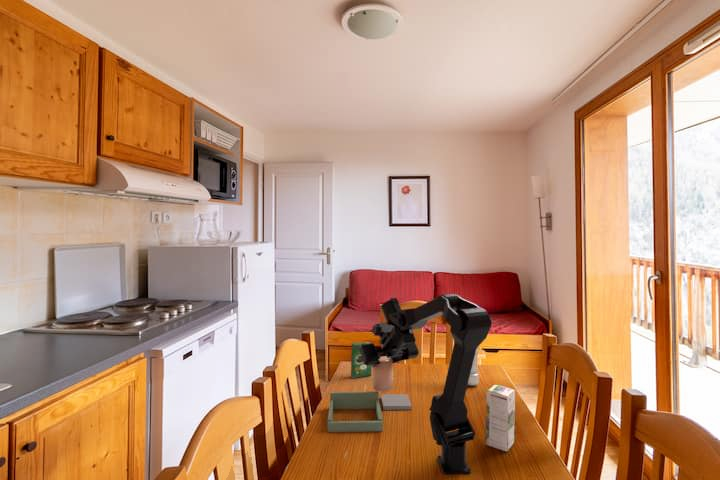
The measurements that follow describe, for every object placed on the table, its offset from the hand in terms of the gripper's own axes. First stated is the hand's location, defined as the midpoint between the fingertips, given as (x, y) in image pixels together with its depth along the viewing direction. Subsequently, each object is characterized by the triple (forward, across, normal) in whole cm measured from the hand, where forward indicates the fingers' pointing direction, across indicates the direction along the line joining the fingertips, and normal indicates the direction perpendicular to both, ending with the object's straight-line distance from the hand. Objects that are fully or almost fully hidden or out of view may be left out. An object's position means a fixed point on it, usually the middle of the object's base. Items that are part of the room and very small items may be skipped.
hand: (380, 364), depth 123 cm
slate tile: (+9, -5, +10) cm, 14 cm away
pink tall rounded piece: (+4, 0, +6) cm, 7 cm away
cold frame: (+6, +12, +13) cm, 18 cm away
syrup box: (-14, -18, +34) cm, 41 cm away
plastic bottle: (+11, -38, +8) cm, 41 cm away
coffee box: (+28, -5, -9) cm, 30 cm away
